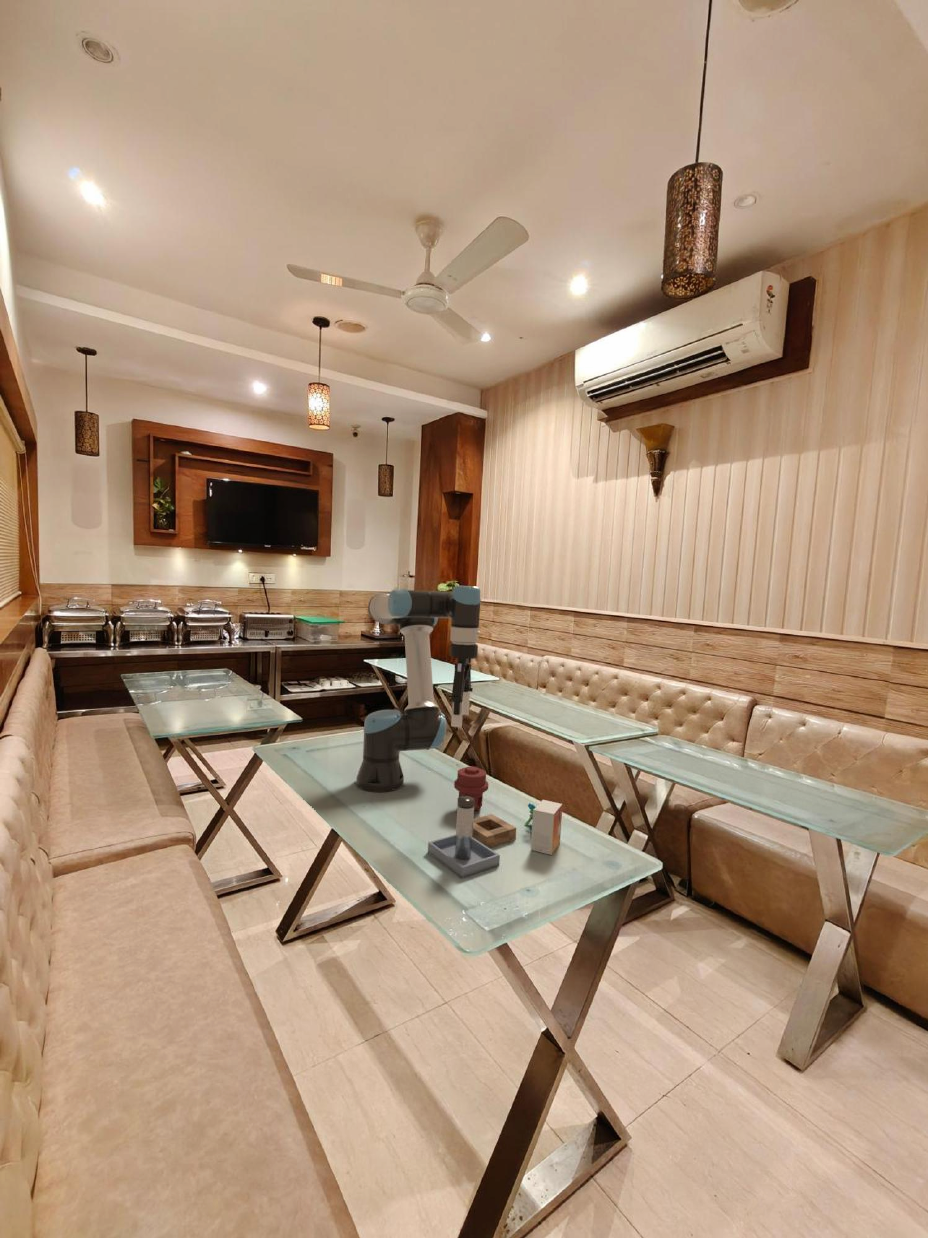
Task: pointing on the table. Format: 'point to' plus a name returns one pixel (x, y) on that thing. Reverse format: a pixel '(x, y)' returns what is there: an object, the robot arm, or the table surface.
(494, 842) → the socket
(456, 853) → the pin
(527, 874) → the table surface
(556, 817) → the small box
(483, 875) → the table surface
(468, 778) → the mechanical component
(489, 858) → the tray
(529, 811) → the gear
